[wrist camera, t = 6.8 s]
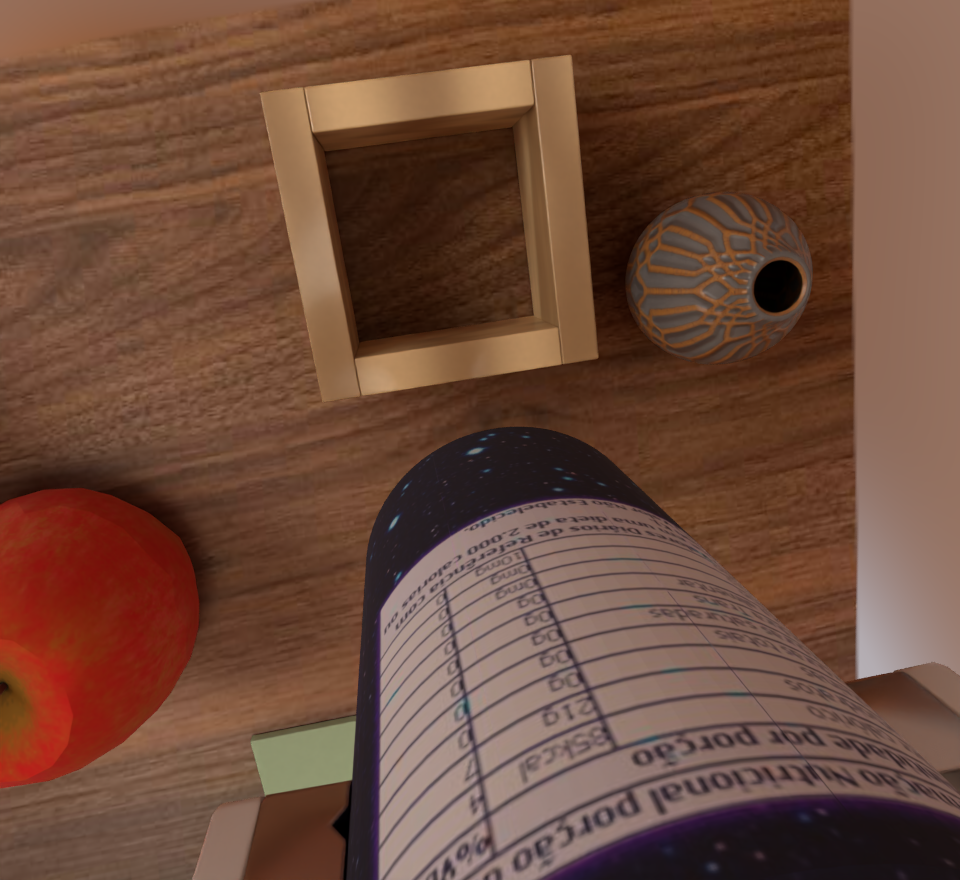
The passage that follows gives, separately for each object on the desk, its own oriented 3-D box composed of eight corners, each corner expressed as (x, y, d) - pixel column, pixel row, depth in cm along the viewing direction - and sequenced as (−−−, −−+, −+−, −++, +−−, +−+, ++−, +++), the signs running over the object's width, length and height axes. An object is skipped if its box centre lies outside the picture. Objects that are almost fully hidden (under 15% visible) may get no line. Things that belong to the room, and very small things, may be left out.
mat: (628, 661, 38) (631, 666, 37) (653, 942, 43) (656, 950, 43) (252, 735, 36) (250, 741, 36) (327, 1017, 42) (327, 1026, 41)
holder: (542, 85, 30) (571, 53, 25) (568, 342, 33) (599, 358, 28) (280, 117, 29) (259, 91, 24) (332, 379, 32) (322, 402, 27)
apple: (-34, 666, 33) (-221, 851, 23) (-27, 449, 31) (-233, 549, 21) (203, 690, 35) (127, 870, 25) (228, 486, 33) (155, 595, 22)
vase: (600, 208, 31) (678, 194, 23) (748, 188, 32) (876, 168, 24) (613, 361, 33) (688, 399, 25) (751, 339, 34) (871, 370, 25)
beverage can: (313, 589, 14) (34, 1900, 3) (469, 360, 14) (913, 961, 2) (534, 707, 16) (916, 1905, 4) (686, 506, 15) (1651, 1339, 4)
